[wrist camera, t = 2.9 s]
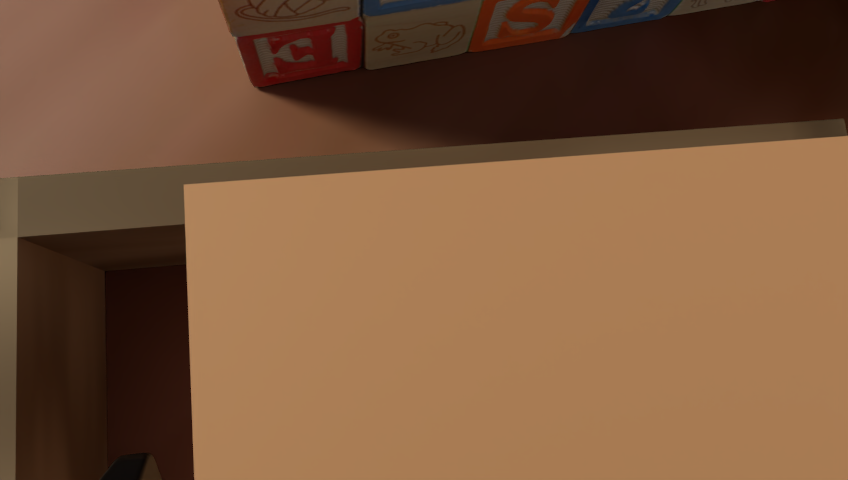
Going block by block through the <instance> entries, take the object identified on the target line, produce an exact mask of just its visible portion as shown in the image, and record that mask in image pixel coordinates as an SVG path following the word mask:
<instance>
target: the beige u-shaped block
mask: <svg viewBox="0 0 848 480" xmlns="http://www.w3.org/2000/svg"><path fill="white" fill-rule="evenodd" d="M840 136H847V131H846V127H845V122H844V119H832V120H818V121H804V122H790V123H776V124H762V125H748V126H733V127H719V128H705V129H691V130H677V131H663V132H649V133H635V134H620V135H606V136H592V137H578V138H564V139H550V140H536V141H521V142H507V143H493V144H479V145H465V146H451V147H437V148H423V149H408V150H394V151H380V152H366V153H352V154H338V155H324V156H309V157H295V158H281V159H267V160H253V161H239V162H225V163H210V164H196V165H182V166H168V167H154V168H140V169H126V170H112V171H97V172H83V173H69V174H55V175H41V176H27V177H13V178H0V480H99V479H100V478H101V477H102V476H103V474H104V473H105V472H106V471H107V470H108V456H107V386H106V317H105V271H113V270H125V269H137V268H149V267H161V266H173V265H185V264H186V236H185V208H184V185H185V184H198V183H212V182H226V181H239V180H253V179H266V178H280V177H294V176H307V175H321V174H335V173H348V172H362V171H376V170H389V169H403V168H417V167H430V166H444V165H458V164H471V163H485V162H499V161H512V160H526V159H539V158H553V157H567V156H580V155H594V154H608V153H621V152H635V151H649V150H662V149H676V148H690V147H703V146H717V145H731V144H744V143H758V142H772V141H785V140H799V139H812V138H826V137H840Z"/></svg>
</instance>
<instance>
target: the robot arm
mask: <svg viewBox="0 0 848 480" xmlns="http://www.w3.org/2000/svg"><path fill="white" fill-rule="evenodd" d="M99 480H162V478H161V475H160V472H159V470H158V467H157V464H156V461H155V459H154V457H153V456H152V455H151V454H150V453H137V454H128V455H122V456H120V457H119V458H117V459H116V460H115V461H114V462H113V463H112V465H111V466H110V467H109V468H108V470H107V471H106V472H105V473H104V474H103V476H102V477H101V478H100V479H99Z"/></svg>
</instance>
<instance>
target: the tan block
mask: <svg viewBox="0 0 848 480" xmlns="http://www.w3.org/2000/svg"><path fill="white" fill-rule="evenodd" d="M184 208H185V236H186V264H187V291H188V319H189V347H190V375H191V402H192V430H193V458H194V480H848V136H840V137H826V138H812V139H799V140H785V141H772V142H758V143H744V144H731V145H717V146H703V147H690V148H676V149H662V150H649V151H635V152H621V153H608V154H594V155H580V156H567V157H553V158H539V159H526V160H512V161H499V162H485V163H471V164H458V165H444V166H430V167H417V168H403V169H389V170H376V171H362V172H348V173H335V174H321V175H307V176H294V177H280V178H266V179H253V180H239V181H226V182H212V183H198V184H185V185H184Z"/></svg>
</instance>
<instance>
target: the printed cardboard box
mask: <svg viewBox="0 0 848 480" xmlns="http://www.w3.org/2000/svg"><path fill="white" fill-rule="evenodd" d="M755 1H762V2H769V1H775V0H218V2H219V4H220V7H221V10H222V13H223V16H224V18H225V21H226V23H227V26H228V30H229V32H230V33H231V35H232V36H233V37H235V40H236V44H237V47H238V50H239V53H240V56H241V59H242V62H243V65H244V67H245V70H246V72H247V75H248V77H249V79H250V81H251V83H252V84H253V86H254V87H264V86H269V85H273V84H278V83H284V82H289V81H295V80H300V79H305V78H311V77H316V76H321V75H326V74H333V73H338V72H341V71H349V70H355V69H357V68H359V67H365V68H366V69H369V70H373V69H379V68H385V67H391V66H397V65H403V64H409V63H414V62H420V61H426V60H432V59H438V58H443V57H449V56H454V55H459V54H462V53H464V52H479V51H486V50H492V49H498V48H504V47H510V46H516V45H523V44H529V43H535V42H541V41H546V40H551V39H559V38H564V37H565V36H566V35H568V34H569V33H579V32H586V31H591V30H596V29H601V28H608V27H614V26H620V25H625V24H631V23H637V22H643V21H650V20H657V19H661V18H663V17H665V16H674V15H681V14H687V13H693V12H698V11H704V10H710V9H716V8H721V7H727V6H733V5H739V4H744V3H750V2H755Z"/></svg>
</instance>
